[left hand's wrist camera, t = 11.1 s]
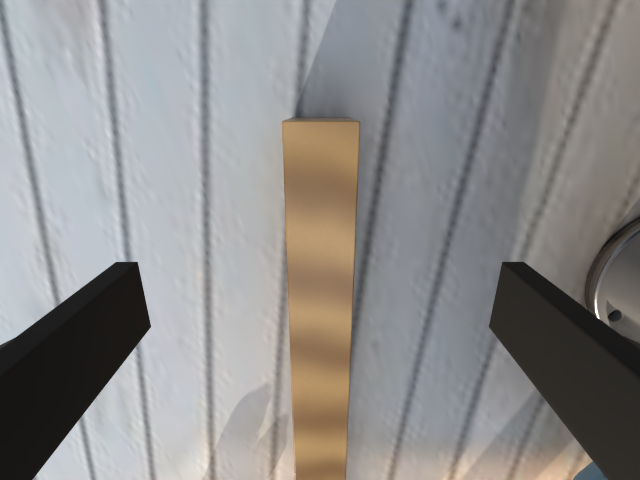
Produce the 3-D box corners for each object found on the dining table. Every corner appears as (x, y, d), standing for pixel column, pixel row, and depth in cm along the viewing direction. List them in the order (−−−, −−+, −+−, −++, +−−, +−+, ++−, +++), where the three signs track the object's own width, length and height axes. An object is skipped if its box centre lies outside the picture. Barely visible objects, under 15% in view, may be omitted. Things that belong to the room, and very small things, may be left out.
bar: (291, 117, 30) (281, 120, 22) (349, 117, 30) (360, 120, 22) (304, 613, 58) (302, 692, 50) (334, 613, 58) (337, 692, 50)
